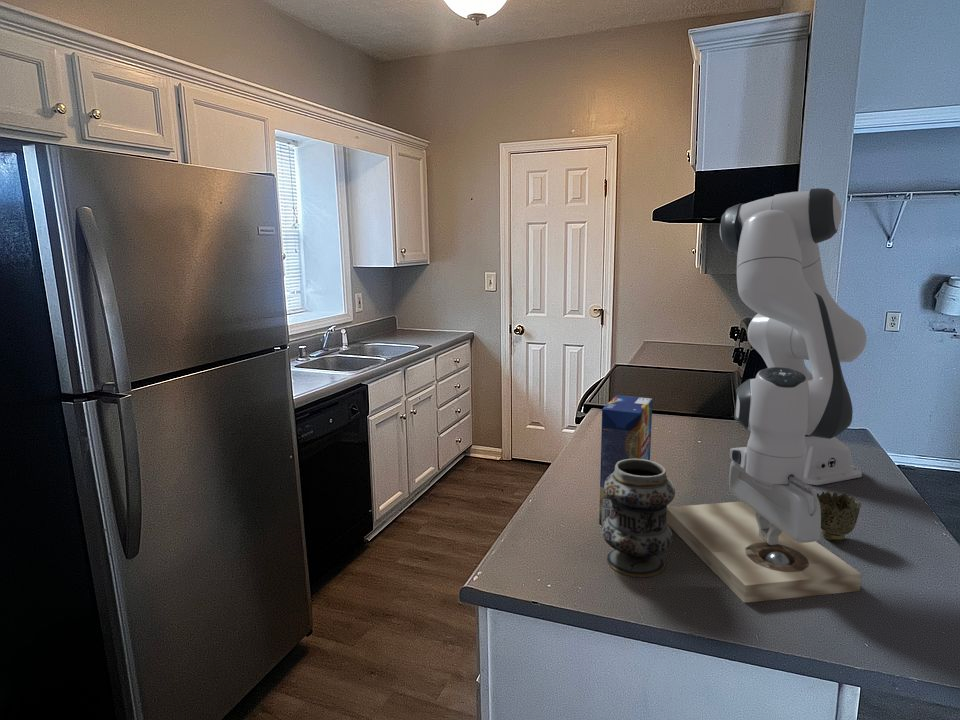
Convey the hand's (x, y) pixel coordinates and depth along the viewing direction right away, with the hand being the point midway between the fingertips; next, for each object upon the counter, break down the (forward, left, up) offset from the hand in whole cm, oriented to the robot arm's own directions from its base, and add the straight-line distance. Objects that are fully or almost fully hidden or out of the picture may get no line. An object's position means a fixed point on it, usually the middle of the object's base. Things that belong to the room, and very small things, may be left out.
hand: (768, 540), depth 101 cm
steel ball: (0, +3, -3) cm, 4 cm away
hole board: (0, -5, -5) cm, 6 cm away
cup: (-18, -7, -5) cm, 20 cm away
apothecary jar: (+22, -5, -5) cm, 23 cm away
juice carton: (+17, -23, -5) cm, 29 cm away
